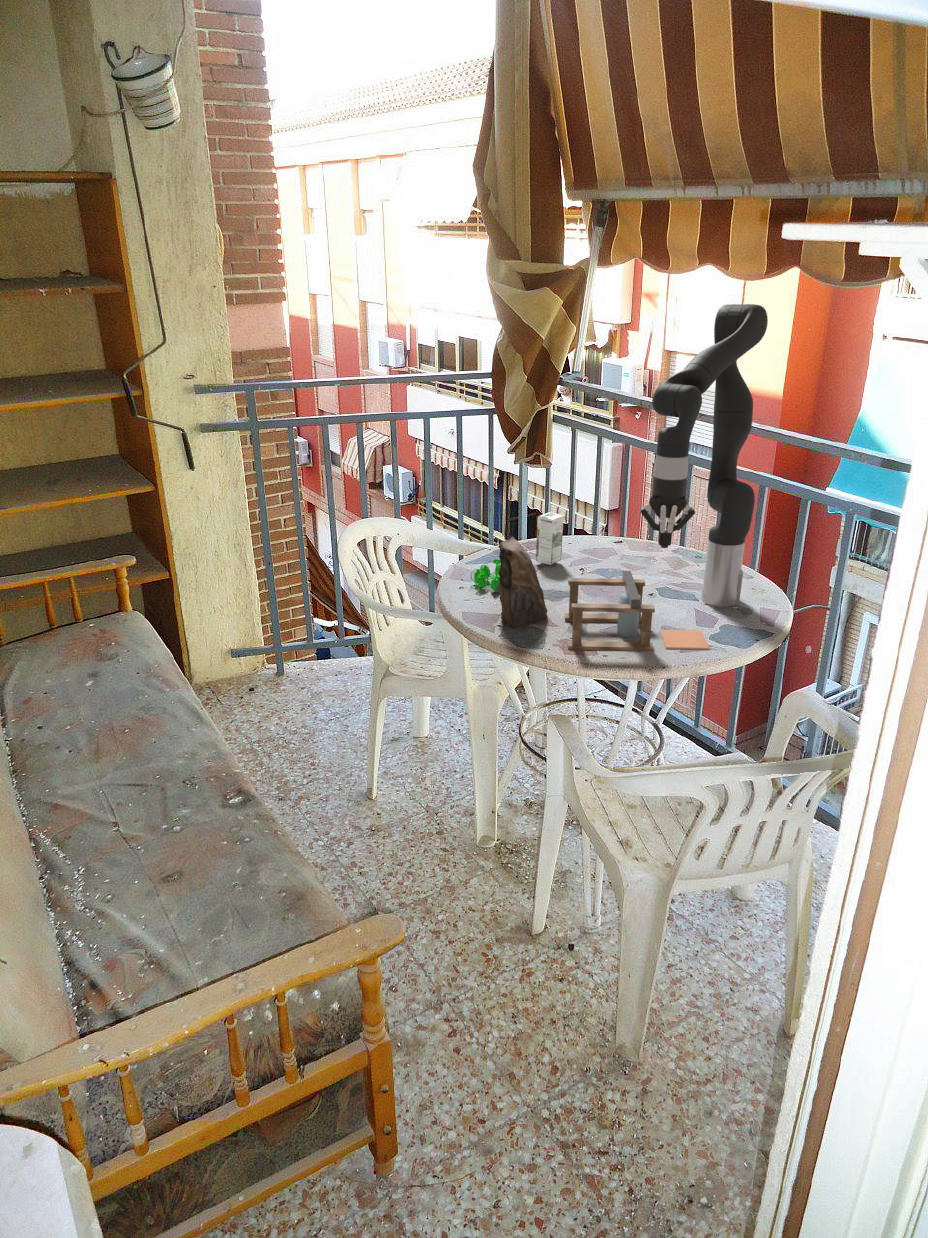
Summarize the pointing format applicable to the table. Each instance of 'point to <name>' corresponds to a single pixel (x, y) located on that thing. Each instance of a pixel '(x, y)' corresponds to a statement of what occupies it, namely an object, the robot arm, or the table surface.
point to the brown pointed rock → (519, 586)
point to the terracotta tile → (683, 639)
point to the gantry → (606, 616)
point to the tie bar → (631, 589)
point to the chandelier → (487, 576)
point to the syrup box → (549, 538)
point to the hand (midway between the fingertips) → (663, 546)
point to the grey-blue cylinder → (627, 620)
